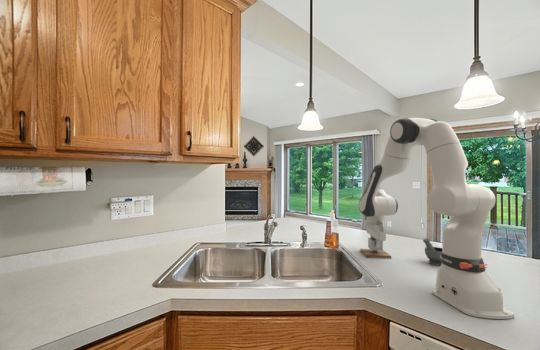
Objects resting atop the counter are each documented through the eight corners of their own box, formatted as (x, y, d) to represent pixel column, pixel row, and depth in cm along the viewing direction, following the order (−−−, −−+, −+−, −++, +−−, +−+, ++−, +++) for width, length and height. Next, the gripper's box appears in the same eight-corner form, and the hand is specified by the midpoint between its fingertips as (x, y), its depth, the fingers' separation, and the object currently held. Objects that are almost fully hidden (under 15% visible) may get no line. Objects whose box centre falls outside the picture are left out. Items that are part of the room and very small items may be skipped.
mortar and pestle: (440, 260, 130) (441, 236, 130) (453, 267, 120) (454, 241, 120) (417, 260, 130) (418, 236, 130) (428, 266, 121) (429, 240, 121)
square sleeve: (382, 250, 136) (382, 240, 136) (371, 250, 136) (371, 240, 136) (378, 247, 141) (378, 238, 141) (368, 247, 142) (368, 237, 142)
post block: (391, 258, 132) (391, 246, 132) (367, 257, 133) (367, 245, 133) (382, 251, 144) (382, 240, 144) (360, 250, 145) (360, 239, 145)
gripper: (389, 222, 128) (389, 251, 128) (375, 216, 148) (375, 240, 148) (376, 222, 128) (376, 250, 128) (363, 216, 149) (363, 240, 149)
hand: (375, 245), depth 139 cm, fingers closed on square sleeve, 6 cm apart
